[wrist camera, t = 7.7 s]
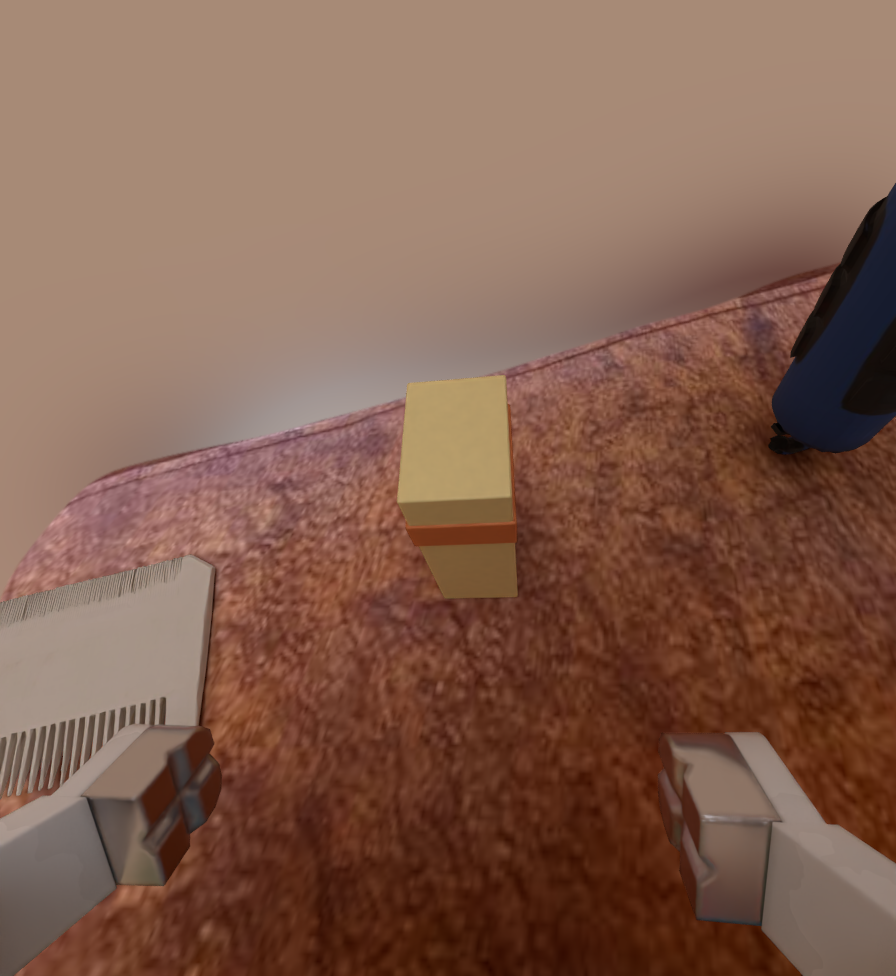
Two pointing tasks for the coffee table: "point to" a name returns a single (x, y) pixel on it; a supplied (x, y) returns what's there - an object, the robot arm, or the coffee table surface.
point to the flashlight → (845, 349)
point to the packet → (461, 484)
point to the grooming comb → (100, 664)
